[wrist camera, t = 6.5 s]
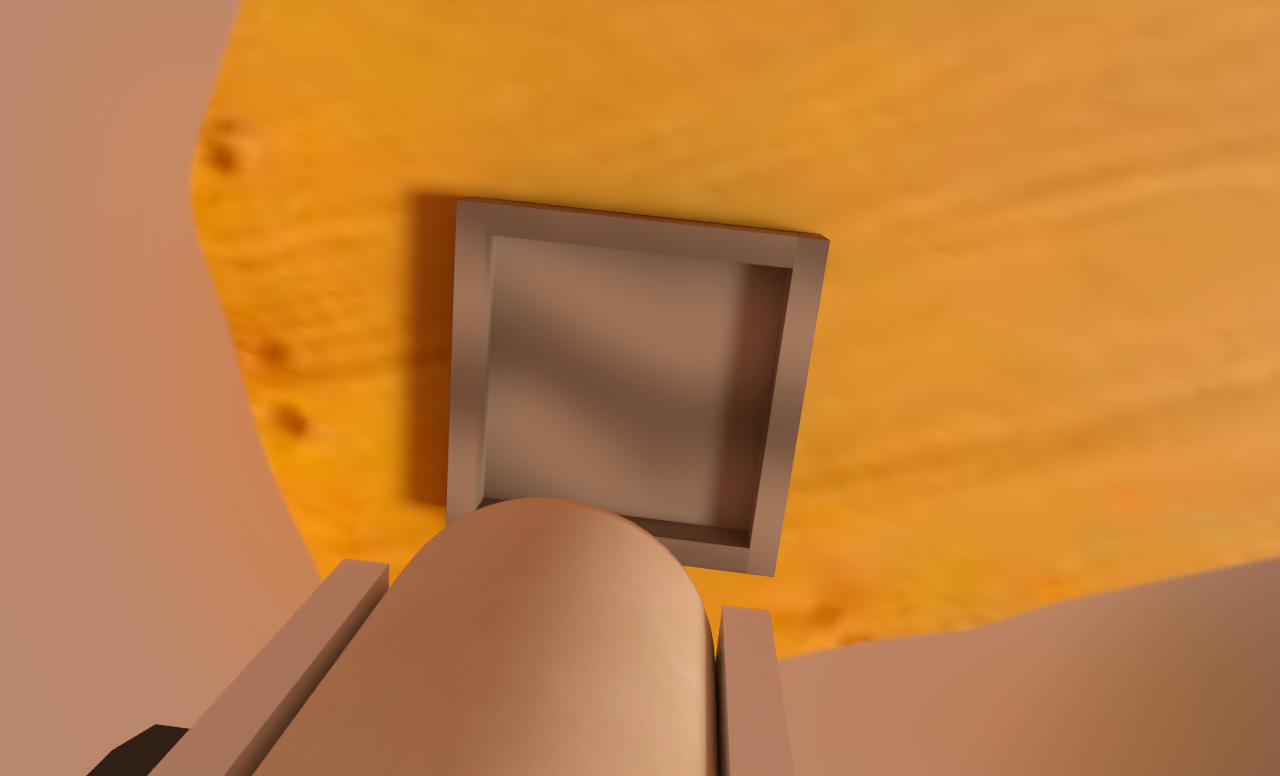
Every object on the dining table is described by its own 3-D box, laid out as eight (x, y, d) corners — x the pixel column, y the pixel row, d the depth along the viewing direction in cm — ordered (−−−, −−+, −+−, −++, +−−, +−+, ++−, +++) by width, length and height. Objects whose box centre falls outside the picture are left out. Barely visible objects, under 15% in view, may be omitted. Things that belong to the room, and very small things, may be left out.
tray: (473, 196, 28) (456, 199, 26) (820, 234, 27) (829, 240, 25) (461, 511, 31) (445, 534, 29) (769, 550, 30) (773, 577, 29)
